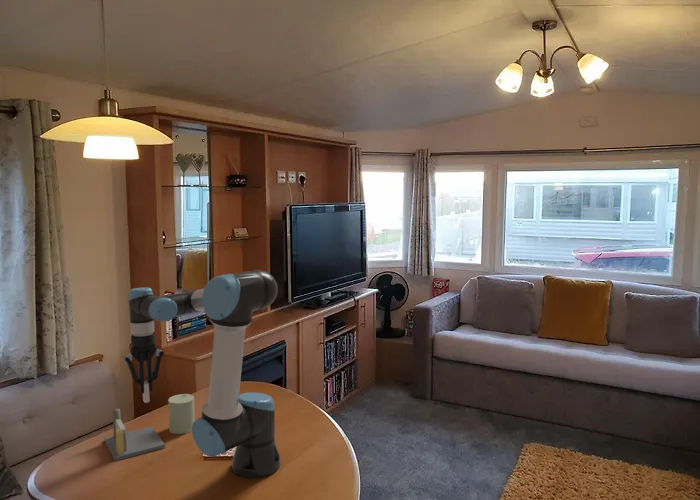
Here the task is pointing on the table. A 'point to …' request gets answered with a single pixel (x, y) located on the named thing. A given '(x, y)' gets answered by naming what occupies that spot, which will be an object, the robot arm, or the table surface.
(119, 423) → the white framed panel
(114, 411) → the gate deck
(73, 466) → the table surface
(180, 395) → the can
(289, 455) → the table surface
